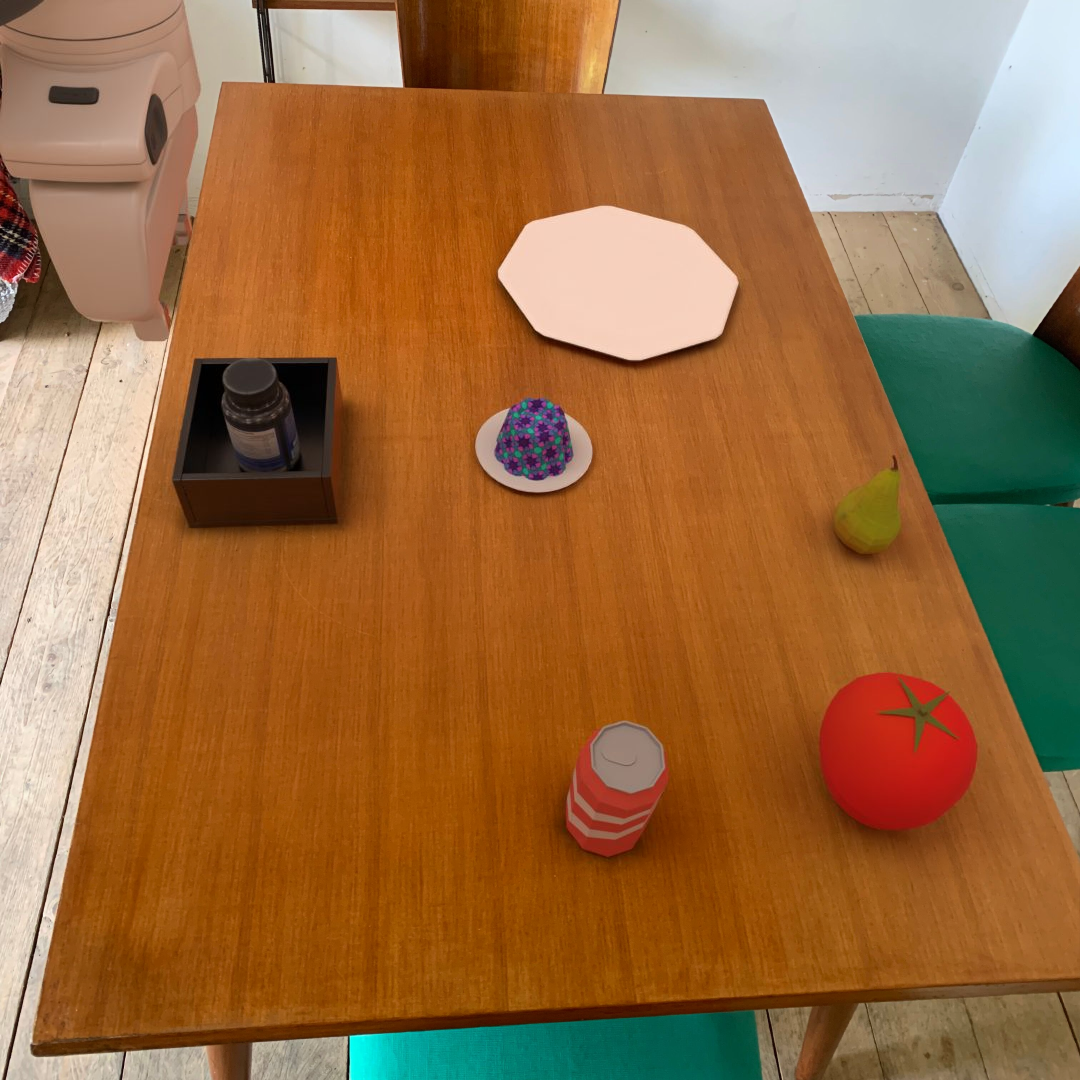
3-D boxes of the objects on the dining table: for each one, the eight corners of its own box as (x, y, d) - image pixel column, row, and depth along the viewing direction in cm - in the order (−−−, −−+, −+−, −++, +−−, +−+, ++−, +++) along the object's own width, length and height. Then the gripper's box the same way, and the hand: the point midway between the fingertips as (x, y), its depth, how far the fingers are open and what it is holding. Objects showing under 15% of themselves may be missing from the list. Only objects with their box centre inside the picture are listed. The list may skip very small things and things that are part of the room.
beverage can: (575, 771, 74) (593, 703, 64) (651, 795, 73) (682, 730, 64) (554, 842, 70) (570, 782, 61) (634, 869, 70) (664, 812, 60)
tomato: (950, 850, 72) (1031, 787, 62) (817, 857, 71) (879, 795, 61) (904, 718, 79) (971, 643, 69) (783, 723, 78) (833, 647, 68)
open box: (189, 527, 85) (171, 480, 80) (208, 407, 94) (194, 357, 89) (338, 523, 87) (330, 476, 81) (343, 406, 96) (336, 356, 91)
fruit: (897, 563, 89) (950, 483, 80) (837, 568, 88) (884, 488, 79) (872, 511, 93) (921, 429, 83) (815, 516, 92) (857, 434, 82)
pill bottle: (269, 426, 93) (250, 342, 84) (314, 454, 91) (300, 371, 82) (223, 461, 89) (198, 377, 80) (269, 492, 87) (248, 409, 79)
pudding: (508, 395, 99) (510, 358, 95) (609, 436, 96) (617, 400, 92) (453, 468, 92) (453, 432, 88) (561, 514, 90) (566, 479, 85)
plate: (703, 390, 102) (706, 380, 100) (470, 324, 105) (471, 313, 104) (749, 252, 118) (752, 242, 117) (546, 198, 122) (547, 188, 120)
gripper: (81, -30, 53) (142, 189, 64) (-15, 166, 40) (81, 396, 51) (195, -24, 53) (236, 191, 64) (136, 170, 41) (199, 396, 52)
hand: (167, 284), depth 58 cm, fingers open, 8 cm apart
